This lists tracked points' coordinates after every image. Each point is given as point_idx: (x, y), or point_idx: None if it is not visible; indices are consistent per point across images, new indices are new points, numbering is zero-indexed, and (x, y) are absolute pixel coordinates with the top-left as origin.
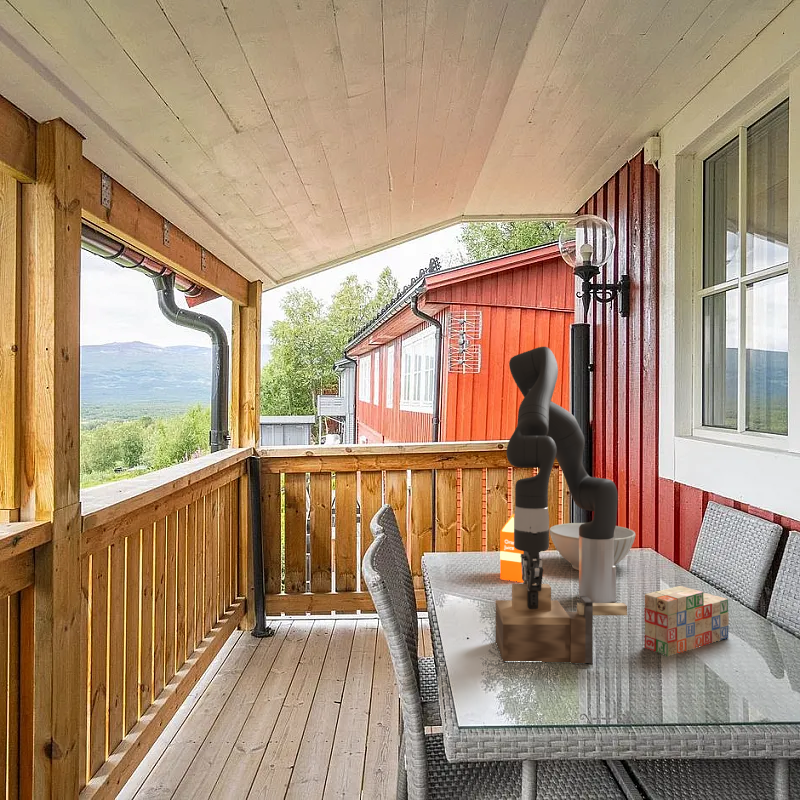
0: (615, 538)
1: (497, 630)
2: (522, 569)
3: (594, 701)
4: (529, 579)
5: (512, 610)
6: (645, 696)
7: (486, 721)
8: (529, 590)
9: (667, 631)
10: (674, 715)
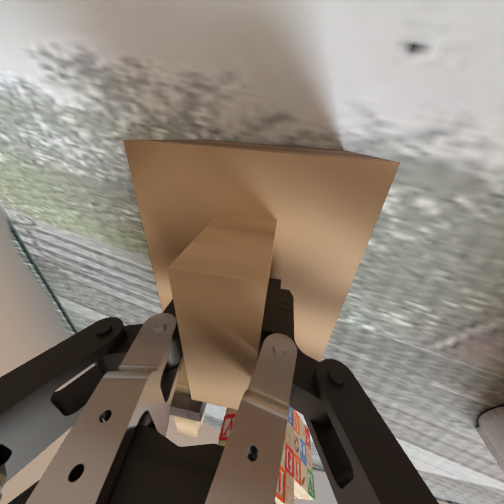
0: None
1: (305, 149)
2: (233, 467)
3: (78, 251)
4: (38, 386)
5: (219, 207)
6: (114, 308)
7: None
8: (104, 320)
9: (226, 410)
10: (77, 311)
